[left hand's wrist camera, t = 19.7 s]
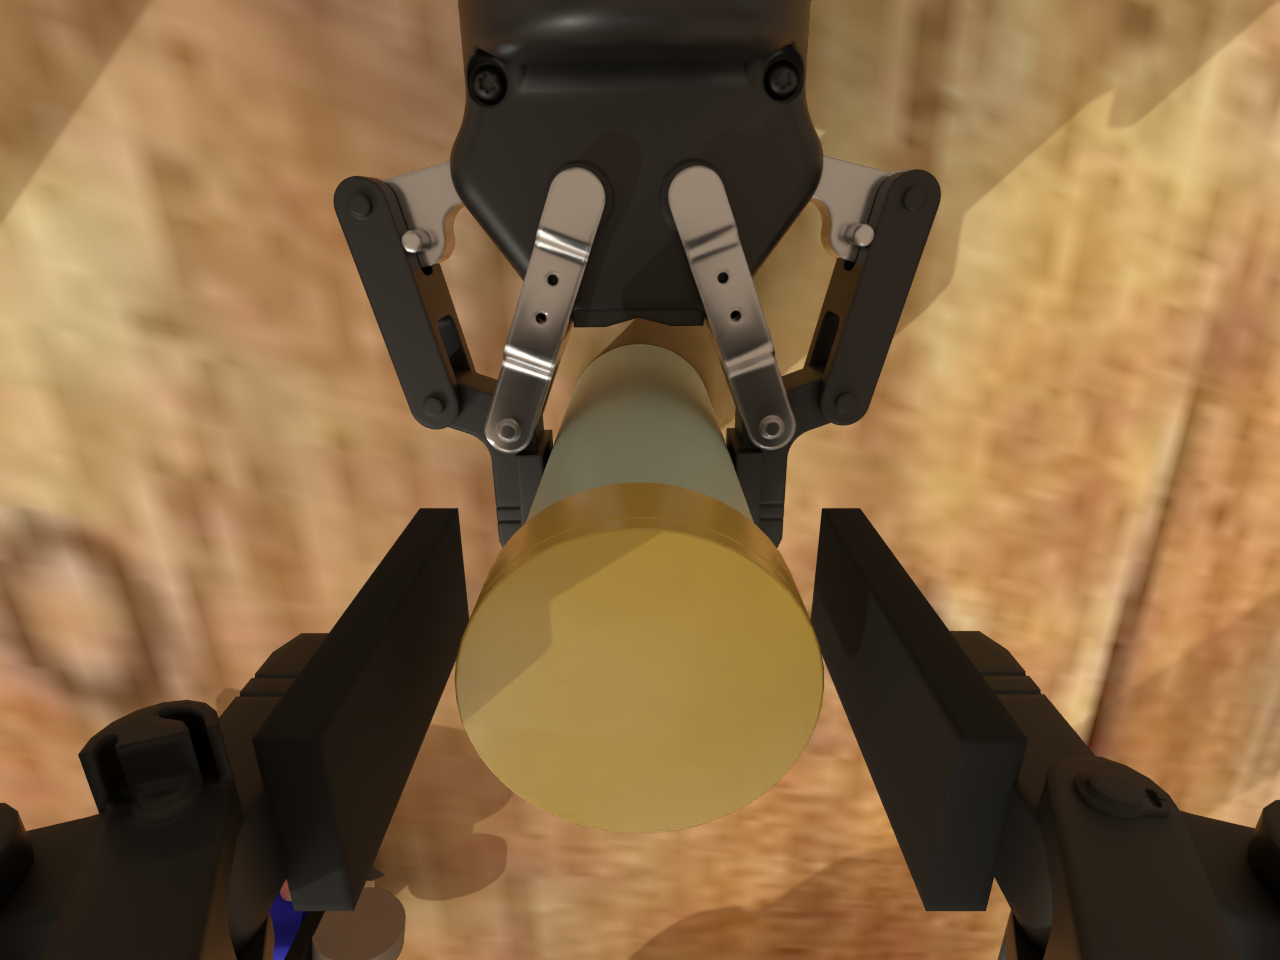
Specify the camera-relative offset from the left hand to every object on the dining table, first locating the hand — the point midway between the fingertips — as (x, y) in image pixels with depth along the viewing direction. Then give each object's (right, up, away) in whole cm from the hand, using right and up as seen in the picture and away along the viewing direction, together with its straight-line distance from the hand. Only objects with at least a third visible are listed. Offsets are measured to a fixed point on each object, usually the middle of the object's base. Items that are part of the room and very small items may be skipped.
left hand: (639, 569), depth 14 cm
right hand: (0, 0, +6) cm, 6 cm away
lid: (0, -1, -3) cm, 4 cm away
